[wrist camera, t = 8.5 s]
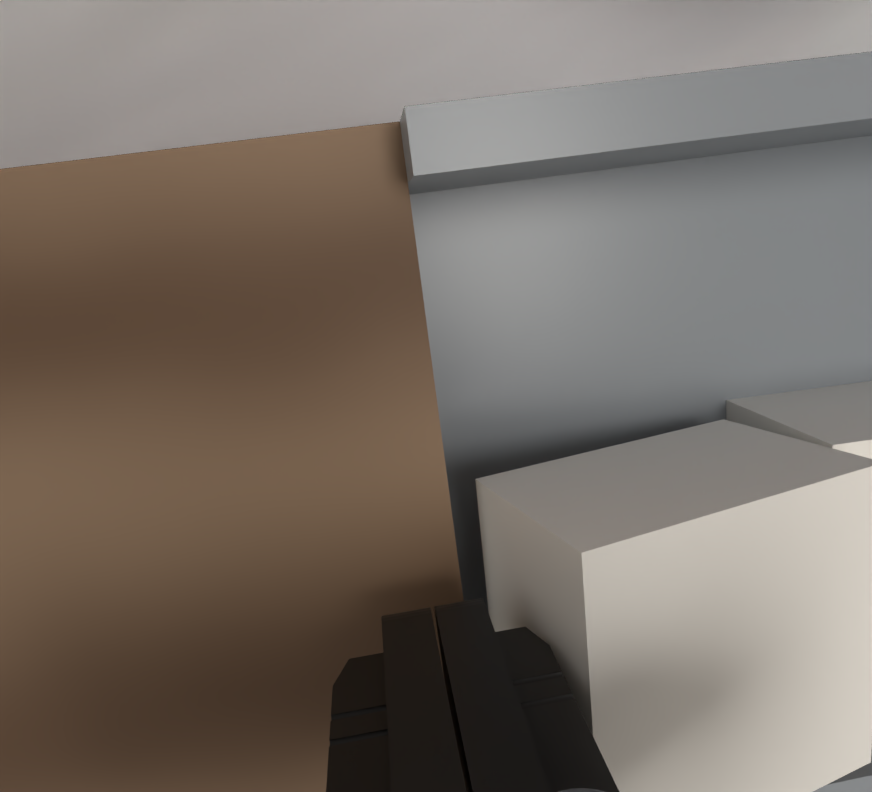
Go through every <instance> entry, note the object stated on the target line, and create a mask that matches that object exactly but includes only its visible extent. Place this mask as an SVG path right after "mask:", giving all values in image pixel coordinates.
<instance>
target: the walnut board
mask: <svg viewBox="0 0 872 792" xmlns="http://www.w3.org/2000/svg"><path fill="white" fill-rule="evenodd" d="M462 601H464V600H463V592H462V585H461V577H460V570H459V562H458V555H457V547H456V540H455V532H454V525H453V517H452V510H451V502H450V495H449V487H448V480H447V472H446V465H445V457H444V450H443V442H442V435H441V427H440V420H439V412H438V405H437V397H436V390H435V382H434V375H433V367H432V360H431V352H430V344H429V337H428V329H427V322H426V314H425V307H424V299H423V292H422V284H421V277H420V269H419V262H418V254H417V247H416V239H415V232H414V224H413V217H412V209H411V202H410V194H409V187H408V179H407V172H406V164H405V157H404V149H403V142H402V134H401V127H400V122H392V123H384V124H375V125H367V126H358V127H350V128H342V129H333V130H325V131H316V132H308V133H300V134H291V135H283V136H274V137H266V138H258V139H249V140H241V141H232V142H224V143H215V144H207V145H199V146H190V147H182V148H173V149H165V150H157V151H148V152H140V153H131V154H123V155H115V156H106V157H98V158H89V159H81V160H73V161H64V162H56V163H47V164H39V165H31V166H22V167H14V168H5V169H0V792H326V785H327V769H328V753H329V746H330V741H329V737H330V721H331V705H332V689H333V684H334V683H335V681H336V680H337V678H338V676H339V675H340V673H341V671H342V670H343V668H344V666H345V665H346V663H347V661H348V660H349V659H351V658H356V657H362V656H367V655H373V654H378V653H383V638H382V620H381V617H382V616H384V615H390V614H395V613H401V612H406V611H412V610H418V609H423V608H429V607H430V608H431V613H432V618H433V623H434V628H435V633H436V639H437V644H438V649H439V654H440V659H441V653H440V646H439V639H438V632H437V625H436V618H435V610H434V606H439V605H445V604H450V603H456V602H462ZM441 664H442V660H441ZM442 669H443V667H442ZM443 675H444V674H443Z"/></svg>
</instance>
